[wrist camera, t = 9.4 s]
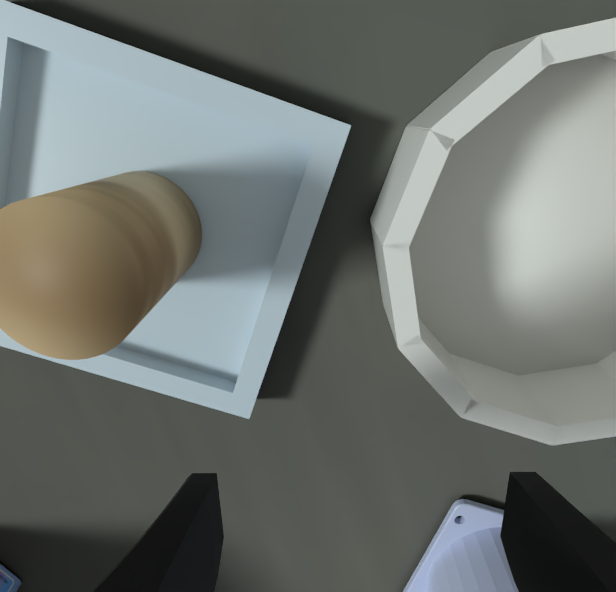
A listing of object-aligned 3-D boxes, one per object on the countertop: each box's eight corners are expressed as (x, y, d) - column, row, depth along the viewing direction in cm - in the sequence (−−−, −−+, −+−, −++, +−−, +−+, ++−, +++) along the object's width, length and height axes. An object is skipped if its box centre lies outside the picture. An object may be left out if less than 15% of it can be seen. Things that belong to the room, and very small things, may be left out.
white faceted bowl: (611, 419, 22) (671, 482, 18) (327, 329, 21) (329, 376, 17) (815, 114, 17) (953, 115, 13) (464, -26, 16) (509, -69, 12)
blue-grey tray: (253, 399, 22) (249, 418, 20) (-23, 316, 21) (-48, 331, 19) (348, 124, 18) (351, 125, 16) (7, 1, 16) (-22, -9, 15)
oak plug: (188, 297, 19) (125, 379, 13) (80, 264, 19) (-35, 333, 13) (214, 192, 18) (157, 230, 12) (97, 155, 18) (-23, 173, 12)
